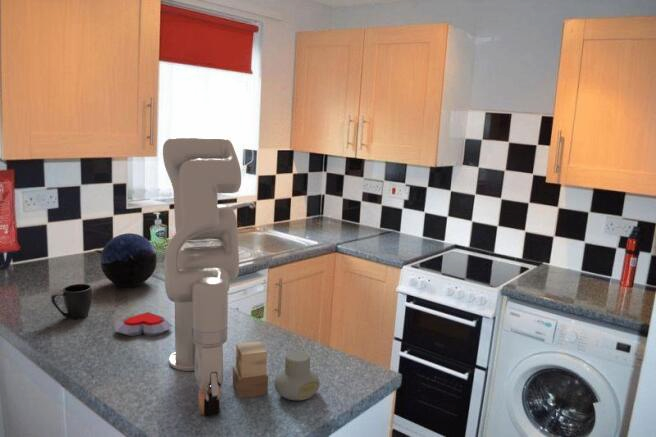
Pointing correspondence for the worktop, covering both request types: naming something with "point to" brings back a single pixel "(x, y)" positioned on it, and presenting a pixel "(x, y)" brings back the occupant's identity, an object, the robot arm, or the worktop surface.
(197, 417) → the worktop surface
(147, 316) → the sculpture
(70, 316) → the mug
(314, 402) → the worktop surface
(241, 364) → the top block
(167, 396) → the worktop surface
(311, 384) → the air freshener
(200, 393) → the brown rounded cylinder
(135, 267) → the decorative sphere
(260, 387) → the base block
